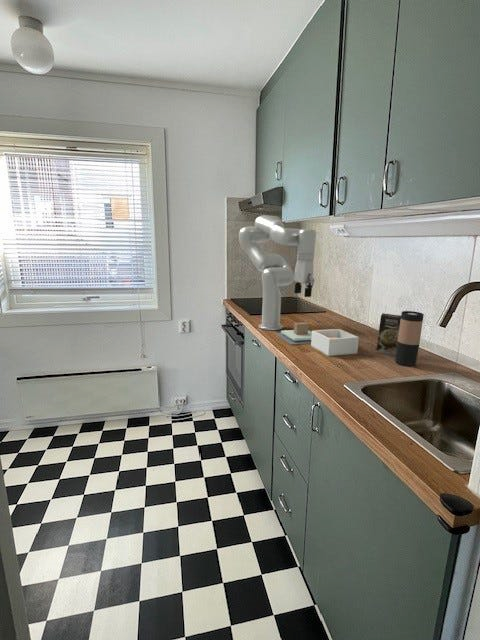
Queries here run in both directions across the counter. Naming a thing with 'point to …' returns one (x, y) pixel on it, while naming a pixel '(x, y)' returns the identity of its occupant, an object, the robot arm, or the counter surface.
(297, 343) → the mat
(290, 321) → the counter surface
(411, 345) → the travel mug
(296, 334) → the lid
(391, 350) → the coffee box
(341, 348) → the storage box
